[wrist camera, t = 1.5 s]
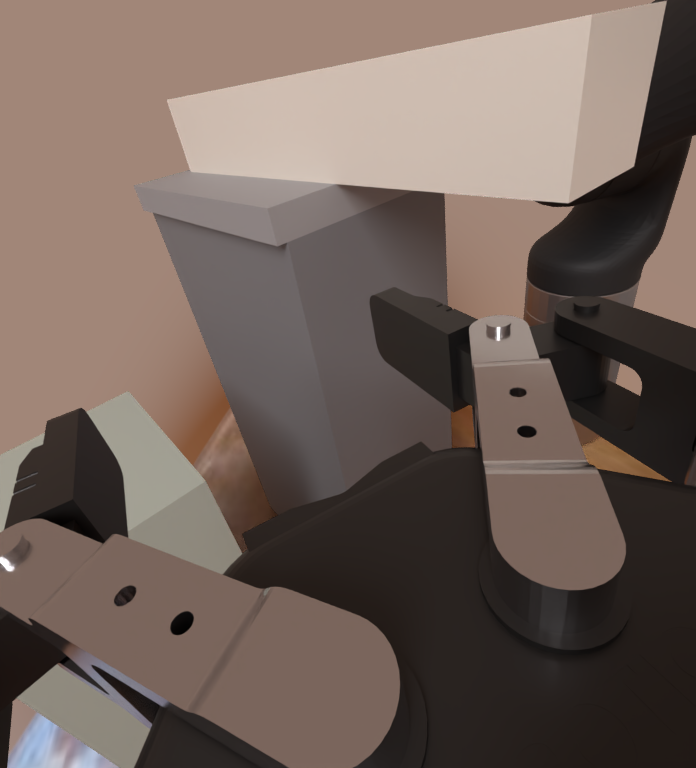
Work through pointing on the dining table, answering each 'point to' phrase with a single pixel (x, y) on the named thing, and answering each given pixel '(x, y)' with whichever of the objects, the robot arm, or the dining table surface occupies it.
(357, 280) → the charcoal stand
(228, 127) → the cream block
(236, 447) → the dining table surface
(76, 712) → the sage-grey block
